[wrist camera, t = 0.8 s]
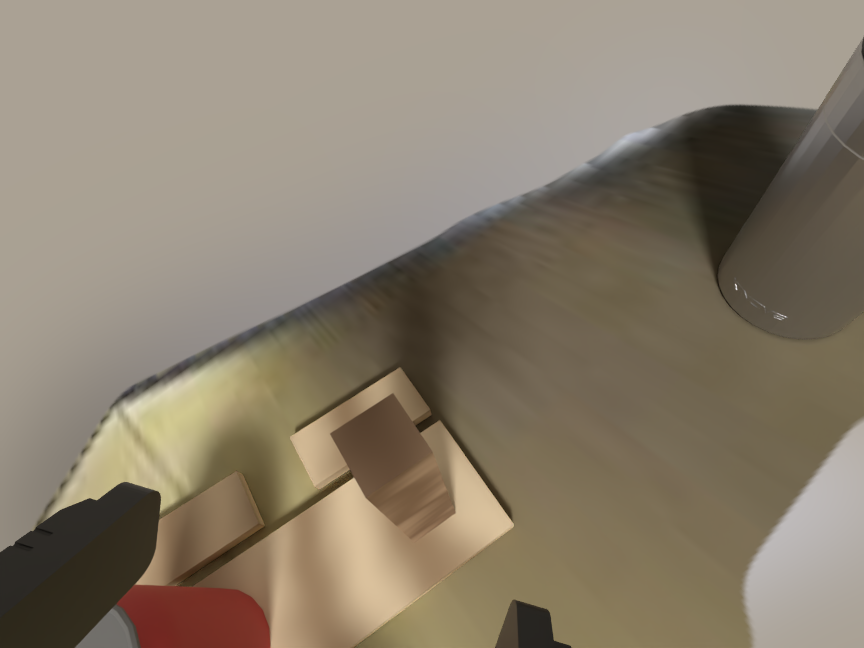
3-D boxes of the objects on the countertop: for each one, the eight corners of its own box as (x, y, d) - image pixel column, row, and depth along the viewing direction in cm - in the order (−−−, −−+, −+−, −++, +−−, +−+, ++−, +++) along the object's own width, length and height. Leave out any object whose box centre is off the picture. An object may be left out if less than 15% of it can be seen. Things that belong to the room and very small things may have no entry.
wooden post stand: (441, 424, 34) (412, 320, 22) (513, 527, 30) (525, 468, 18) (138, 629, 29) (-106, 637, 17) (177, 780, 26) (-102, 924, 14)
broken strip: (402, 372, 36) (400, 367, 35) (431, 414, 34) (430, 409, 33) (117, 554, 32) (106, 552, 31) (132, 614, 30) (121, 614, 29)
